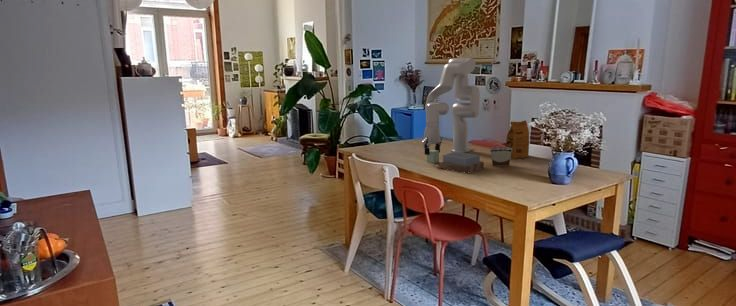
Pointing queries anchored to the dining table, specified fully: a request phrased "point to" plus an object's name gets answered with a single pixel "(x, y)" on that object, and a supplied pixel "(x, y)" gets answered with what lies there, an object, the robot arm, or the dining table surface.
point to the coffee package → (518, 139)
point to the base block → (462, 167)
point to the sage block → (433, 156)
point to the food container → (501, 156)
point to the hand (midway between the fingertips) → (432, 153)
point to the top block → (461, 158)
